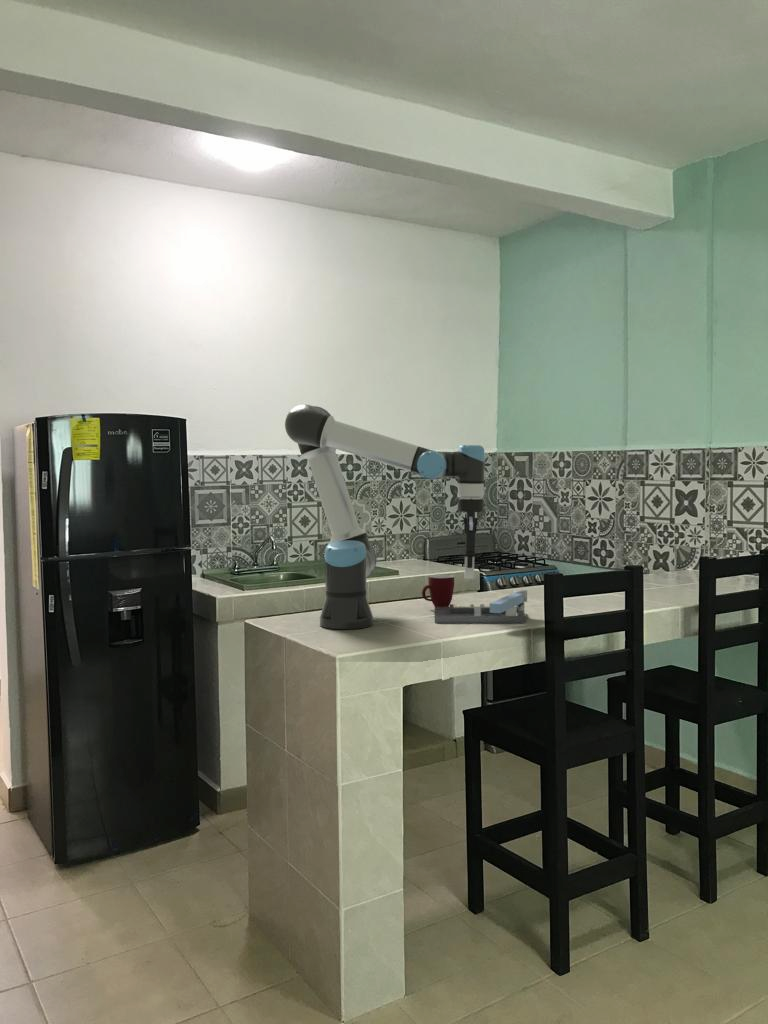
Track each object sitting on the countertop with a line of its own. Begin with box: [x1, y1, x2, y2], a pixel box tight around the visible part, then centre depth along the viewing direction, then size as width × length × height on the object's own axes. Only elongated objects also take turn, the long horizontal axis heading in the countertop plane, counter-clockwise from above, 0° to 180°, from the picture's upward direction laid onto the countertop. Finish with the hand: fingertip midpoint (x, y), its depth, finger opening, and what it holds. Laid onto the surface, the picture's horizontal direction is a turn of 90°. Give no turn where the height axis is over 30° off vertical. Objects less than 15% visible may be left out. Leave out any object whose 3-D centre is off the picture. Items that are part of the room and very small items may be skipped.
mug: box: [421, 574, 455, 608], centre depth 263 cm, size 10×8×10 cm
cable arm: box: [489, 589, 528, 613], centre depth 237 cm, size 23×4×3 cm, turn 152°
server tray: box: [434, 602, 527, 624], centre depth 246 cm, size 26×15×4 cm, turn 86°
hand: (469, 578), depth 246 cm, fingers closed
